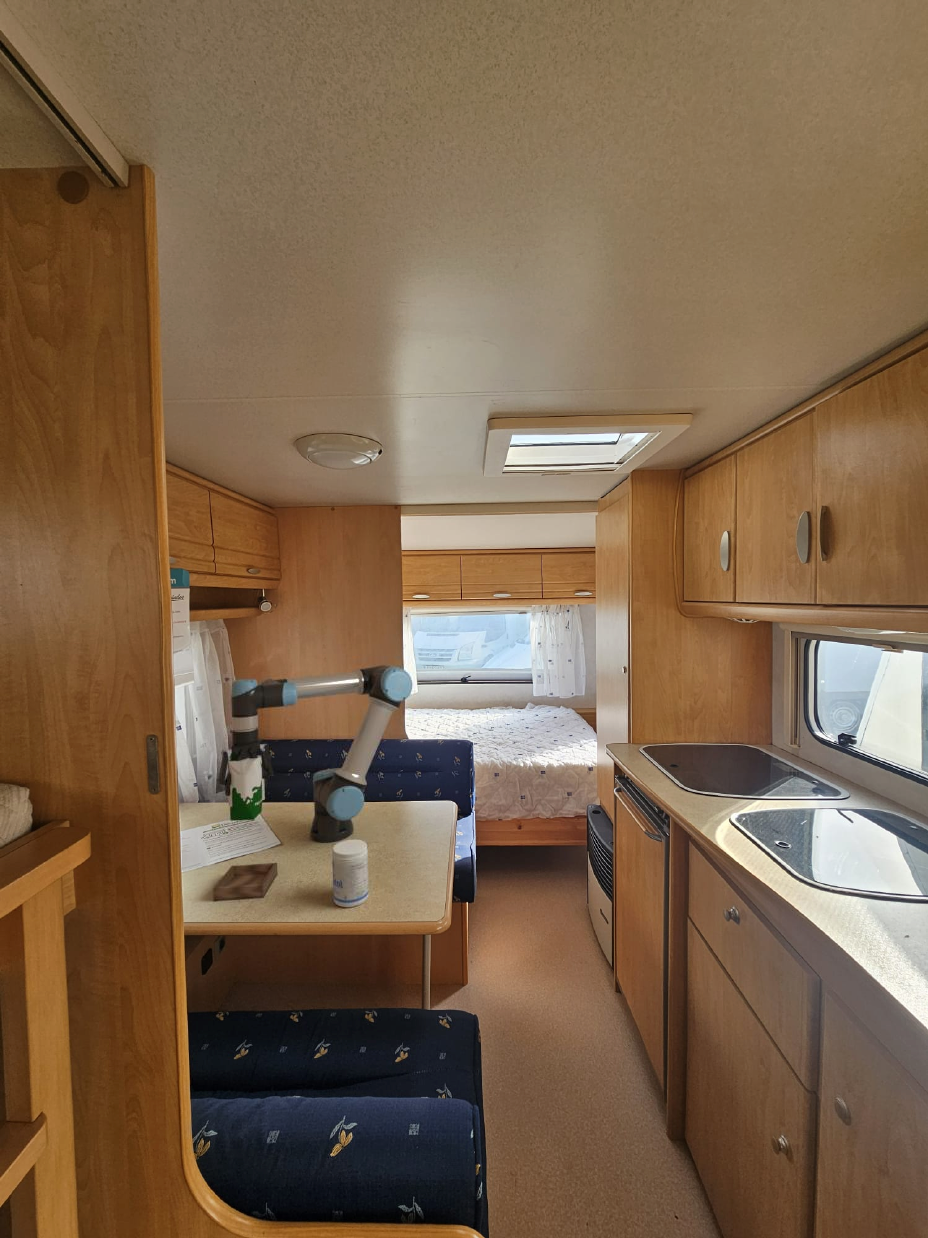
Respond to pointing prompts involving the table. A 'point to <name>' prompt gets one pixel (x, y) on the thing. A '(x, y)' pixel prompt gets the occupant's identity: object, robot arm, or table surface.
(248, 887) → the tray
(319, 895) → the table surface
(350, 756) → the robot arm
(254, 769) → the soya milk
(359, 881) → the supplement tub
